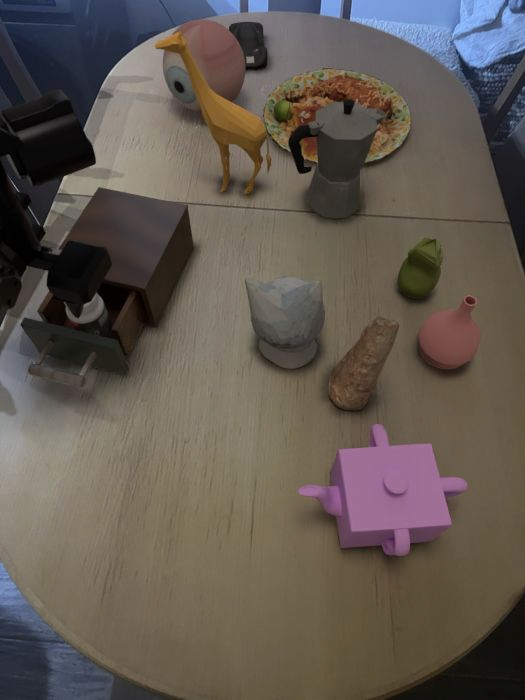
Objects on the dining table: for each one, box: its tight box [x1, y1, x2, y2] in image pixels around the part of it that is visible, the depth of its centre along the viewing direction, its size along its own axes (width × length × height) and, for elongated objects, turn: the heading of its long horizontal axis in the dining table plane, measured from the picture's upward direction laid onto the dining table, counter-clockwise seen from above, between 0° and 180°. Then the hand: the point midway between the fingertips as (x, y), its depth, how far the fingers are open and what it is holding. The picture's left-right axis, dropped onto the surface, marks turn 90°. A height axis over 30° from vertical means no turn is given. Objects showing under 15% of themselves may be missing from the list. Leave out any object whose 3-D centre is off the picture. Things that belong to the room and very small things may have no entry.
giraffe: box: [154, 29, 272, 195], centre depth 78 cm, size 16×4×25 cm, turn 79°
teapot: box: [298, 423, 469, 557], centre depth 56 cm, size 18×14×10 cm
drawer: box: [19, 283, 148, 389], centre depth 68 cm, size 20×13×7 cm, turn 164°
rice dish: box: [262, 67, 412, 165], centre depth 96 cm, size 28×28×5 cm
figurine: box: [244, 275, 326, 370], centre depth 65 cm, size 10×9×15 cm
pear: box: [397, 237, 444, 299], centre depth 73 cm, size 6×5×10 cm
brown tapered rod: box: [327, 315, 400, 412], centre depth 60 cm, size 6×18×6 cm
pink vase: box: [417, 295, 482, 370], centre depth 66 cm, size 8×8×12 cm
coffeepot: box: [288, 99, 387, 220], centre depth 79 cm, size 15×9×18 cm, turn 110°
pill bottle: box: [64, 292, 113, 339], centre depth 66 cm, size 5×5×8 cm
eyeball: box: [162, 18, 246, 114], centre depth 94 cm, size 15×15×15 cm
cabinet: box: [58, 186, 195, 328], centre depth 74 cm, size 16×14×9 cm
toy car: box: [228, 21, 268, 72], centre depth 109 cm, size 7×15×4 cm, turn 5°
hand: (42, 306), depth 59 cm, fingers open, 9 cm apart
